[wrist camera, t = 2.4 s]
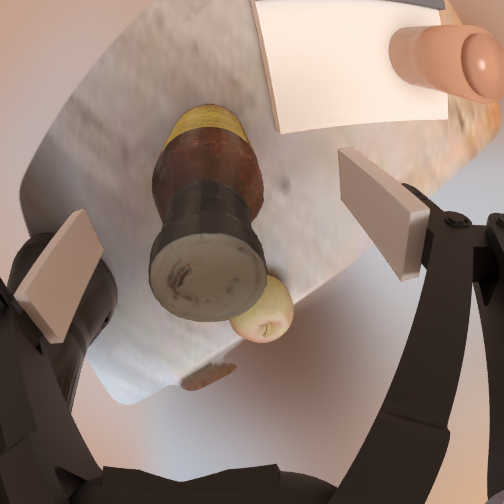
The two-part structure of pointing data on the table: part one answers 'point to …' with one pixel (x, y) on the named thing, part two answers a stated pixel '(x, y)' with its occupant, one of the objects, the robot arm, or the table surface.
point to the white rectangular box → (341, 62)
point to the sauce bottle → (207, 219)
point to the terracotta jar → (450, 60)
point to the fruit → (266, 314)
